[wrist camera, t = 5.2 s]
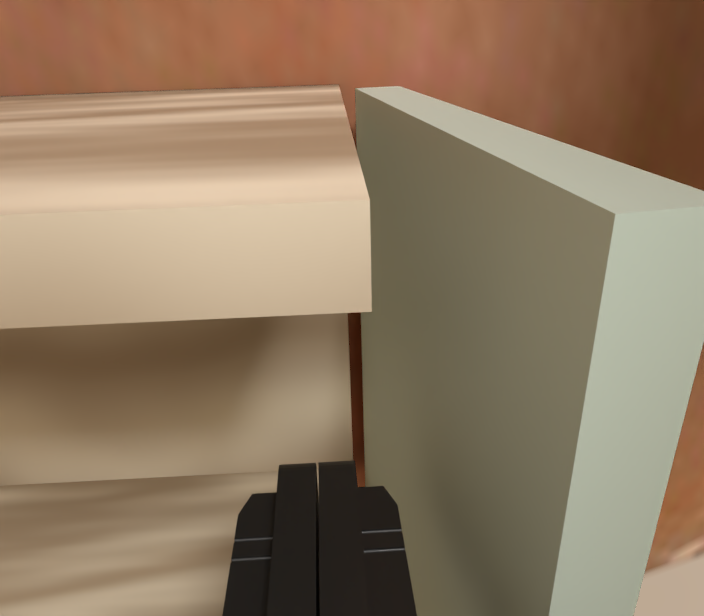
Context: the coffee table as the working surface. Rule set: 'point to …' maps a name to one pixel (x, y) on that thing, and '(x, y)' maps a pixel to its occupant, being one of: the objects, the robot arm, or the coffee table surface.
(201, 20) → the coffee table surface
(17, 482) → the box
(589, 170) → the flat panel
